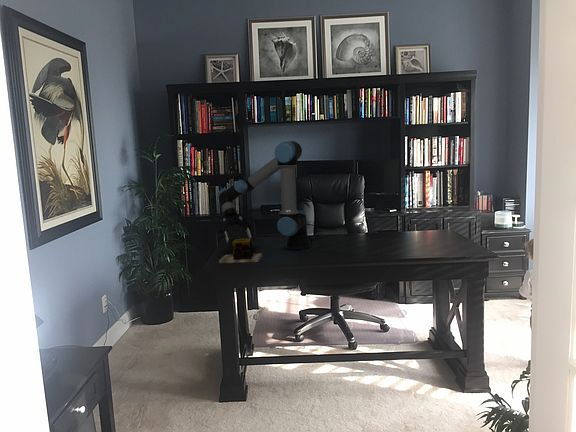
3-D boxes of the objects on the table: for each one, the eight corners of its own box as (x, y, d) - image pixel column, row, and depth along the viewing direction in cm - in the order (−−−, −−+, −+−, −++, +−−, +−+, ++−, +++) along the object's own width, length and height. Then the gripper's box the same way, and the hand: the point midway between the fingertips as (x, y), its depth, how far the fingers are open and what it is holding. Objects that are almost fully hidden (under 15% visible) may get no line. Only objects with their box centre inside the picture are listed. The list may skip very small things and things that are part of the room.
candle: (251, 259, 276) (249, 241, 274) (233, 260, 276) (231, 242, 275) (253, 255, 286) (252, 238, 284) (236, 256, 286) (234, 239, 285)
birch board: (262, 255, 289) (262, 253, 289) (257, 261, 275) (257, 259, 275) (225, 257, 292) (225, 254, 292) (219, 263, 278) (219, 260, 278)
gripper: (248, 212, 303) (258, 240, 291) (208, 217, 293) (217, 247, 282) (250, 205, 297) (261, 233, 286) (209, 210, 288) (218, 239, 276)
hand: (239, 240), depth 284 cm, fingers open, 13 cm apart
